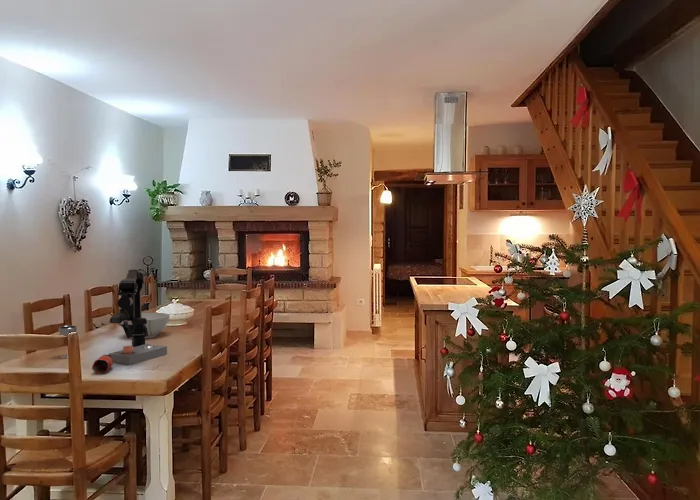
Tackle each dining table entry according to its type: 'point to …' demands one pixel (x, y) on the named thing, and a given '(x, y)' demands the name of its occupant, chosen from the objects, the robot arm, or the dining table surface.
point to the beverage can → (103, 364)
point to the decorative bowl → (155, 323)
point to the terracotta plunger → (127, 349)
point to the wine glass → (67, 332)
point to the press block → (139, 354)
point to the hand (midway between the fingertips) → (128, 338)
